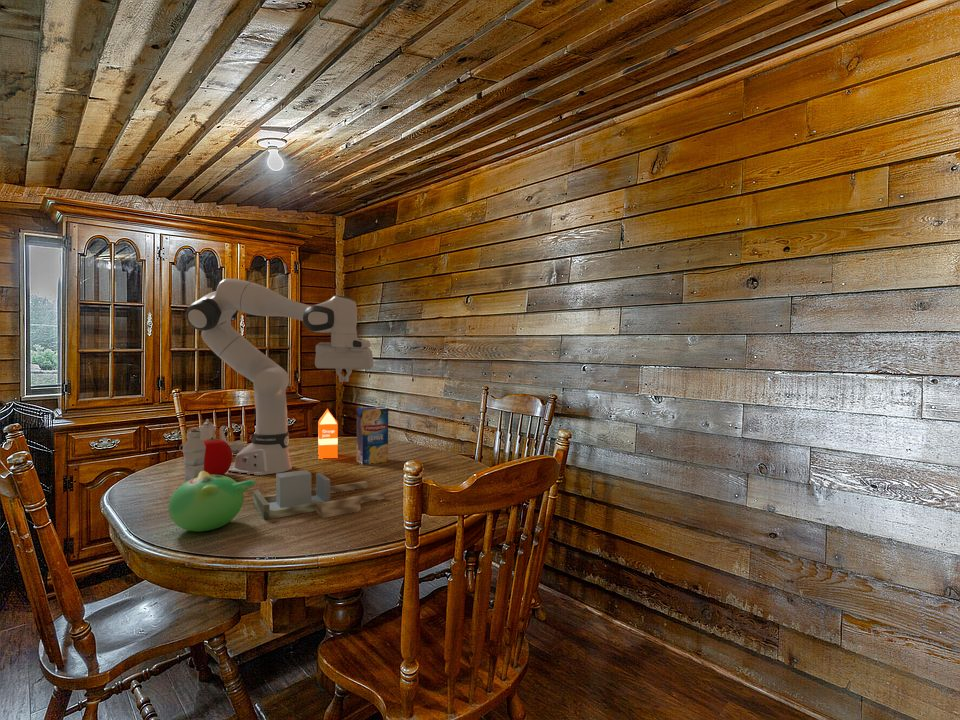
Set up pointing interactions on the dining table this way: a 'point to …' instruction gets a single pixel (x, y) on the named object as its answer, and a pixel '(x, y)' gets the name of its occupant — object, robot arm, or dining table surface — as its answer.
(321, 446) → the orange juice
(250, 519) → the dining table surface
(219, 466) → the tomato
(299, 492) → the bookend block
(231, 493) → the toy bird
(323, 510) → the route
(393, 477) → the dining table surface
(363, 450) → the blue food box
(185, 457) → the plastic bottle
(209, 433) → the chinaware
